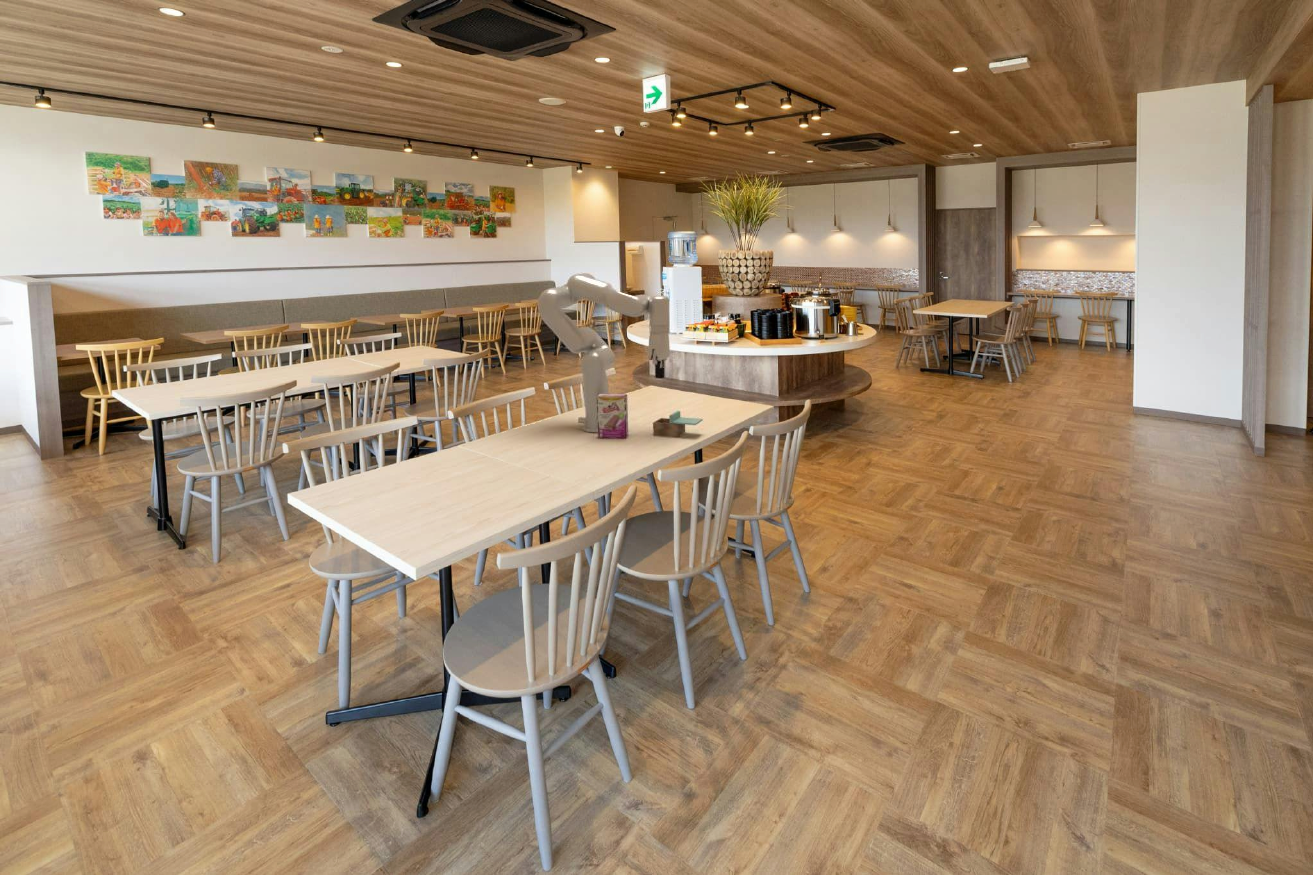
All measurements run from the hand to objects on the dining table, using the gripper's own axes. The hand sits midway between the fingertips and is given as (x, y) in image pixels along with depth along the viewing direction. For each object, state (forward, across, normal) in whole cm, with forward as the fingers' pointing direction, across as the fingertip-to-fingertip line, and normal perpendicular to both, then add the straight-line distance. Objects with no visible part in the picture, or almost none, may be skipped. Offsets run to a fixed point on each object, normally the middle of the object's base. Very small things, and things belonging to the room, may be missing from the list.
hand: (659, 377), depth 279 cm
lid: (+16, 0, +11) cm, 20 cm away
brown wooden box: (+22, 0, +4) cm, 22 cm away
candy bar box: (+22, +12, -14) cm, 29 cm away
